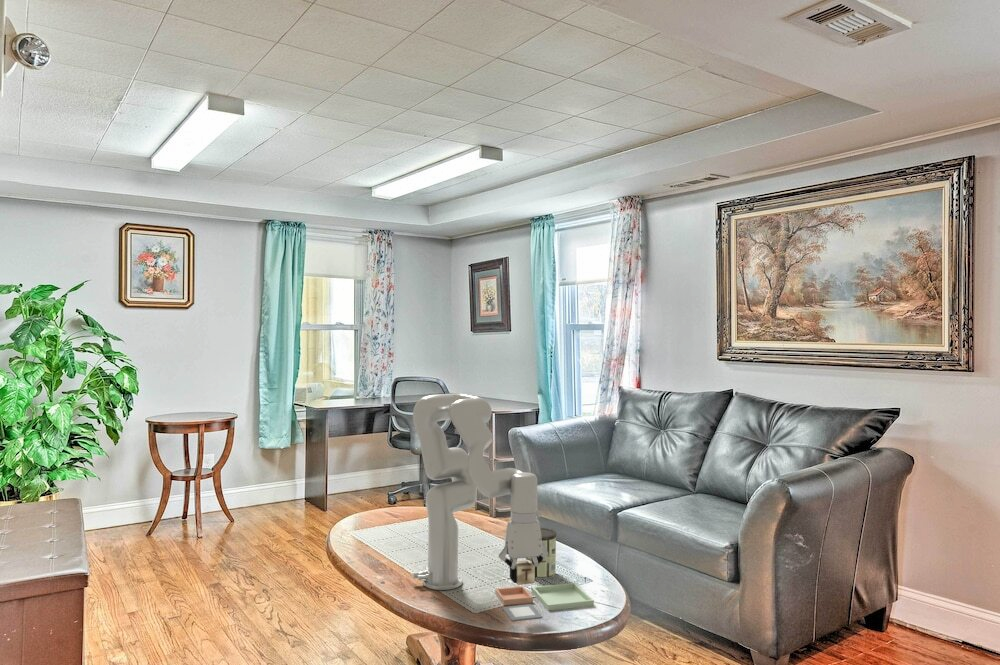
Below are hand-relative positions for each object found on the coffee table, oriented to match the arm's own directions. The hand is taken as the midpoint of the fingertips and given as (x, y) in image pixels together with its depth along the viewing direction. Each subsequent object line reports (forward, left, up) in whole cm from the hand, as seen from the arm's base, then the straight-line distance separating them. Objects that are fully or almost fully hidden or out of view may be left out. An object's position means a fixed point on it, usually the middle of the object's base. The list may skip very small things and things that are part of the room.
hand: (523, 579), depth 199 cm
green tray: (+15, +7, -10) cm, 19 cm away
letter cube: (0, 0, 0) cm, 0 cm away
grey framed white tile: (0, 0, -10) cm, 10 cm away
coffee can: (+16, +29, -10) cm, 35 cm away
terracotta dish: (+1, +11, -10) cm, 15 cm away
